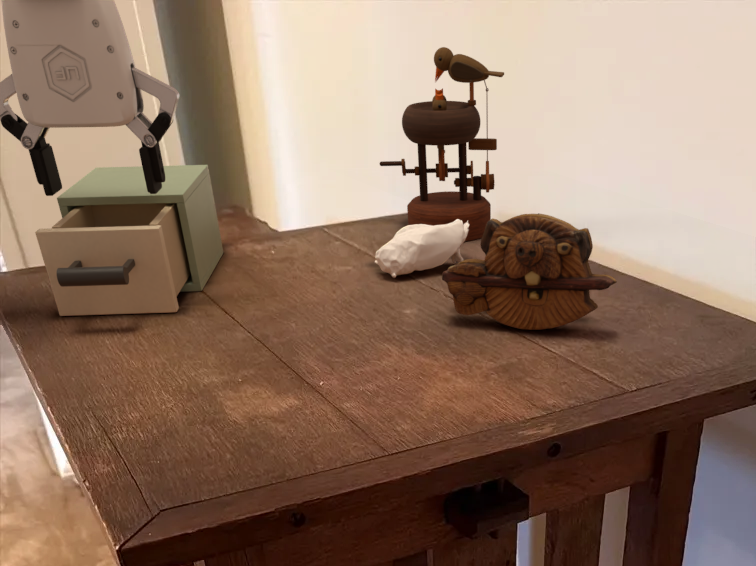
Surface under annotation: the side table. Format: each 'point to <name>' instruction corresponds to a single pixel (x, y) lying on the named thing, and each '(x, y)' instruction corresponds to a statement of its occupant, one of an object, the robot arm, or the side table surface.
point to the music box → (450, 127)
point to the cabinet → (179, 187)
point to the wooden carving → (528, 274)
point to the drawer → (116, 259)
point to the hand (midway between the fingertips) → (105, 191)
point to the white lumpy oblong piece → (422, 247)
